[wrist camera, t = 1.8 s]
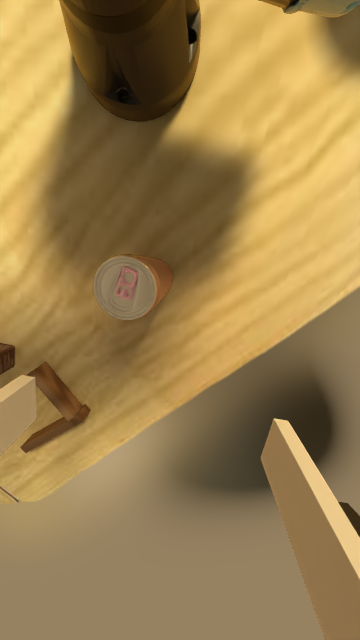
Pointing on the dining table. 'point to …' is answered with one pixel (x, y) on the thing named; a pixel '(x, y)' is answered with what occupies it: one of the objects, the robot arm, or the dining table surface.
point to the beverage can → (131, 285)
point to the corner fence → (61, 400)
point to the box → (6, 357)
